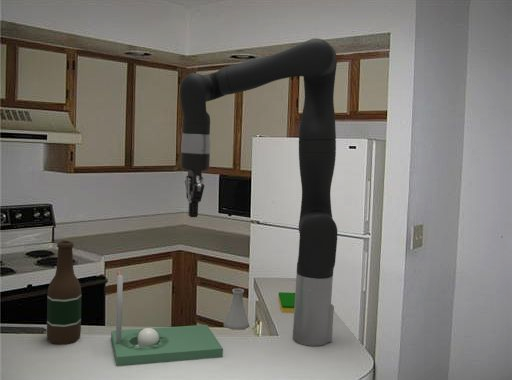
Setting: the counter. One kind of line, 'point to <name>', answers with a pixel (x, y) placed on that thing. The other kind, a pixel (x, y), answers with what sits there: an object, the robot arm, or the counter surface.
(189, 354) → the putting board
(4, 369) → the counter surface
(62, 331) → the beer bottle
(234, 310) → the flask
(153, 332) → the ball
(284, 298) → the dish sponge
